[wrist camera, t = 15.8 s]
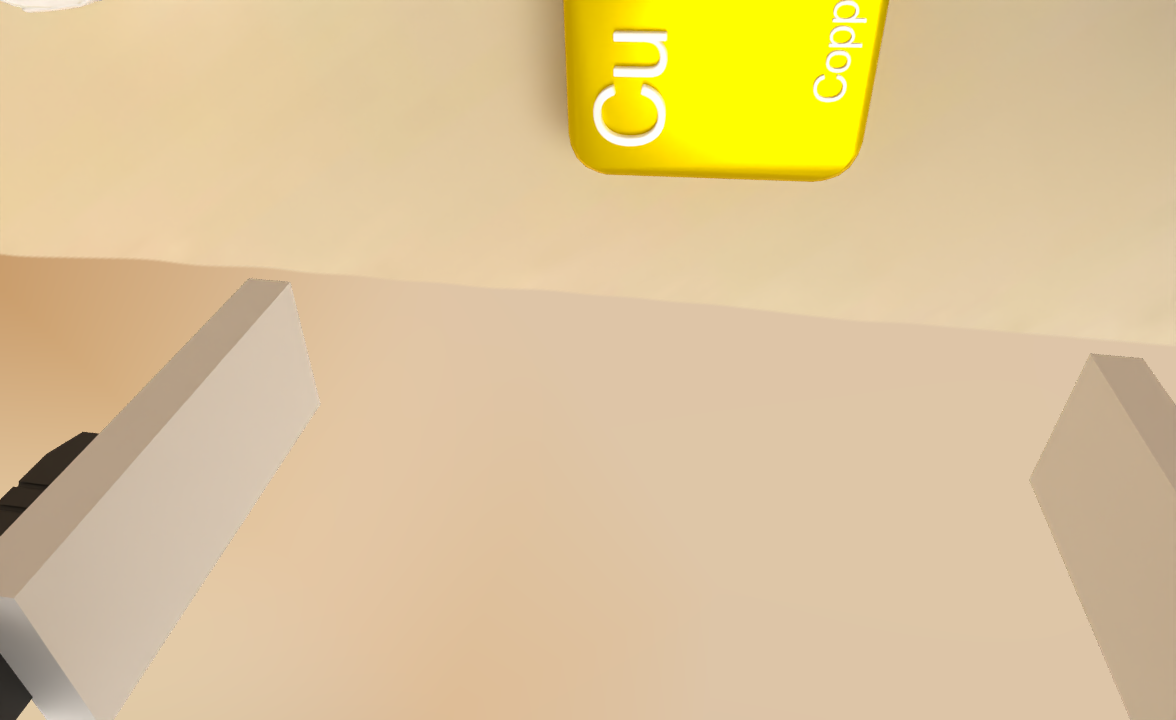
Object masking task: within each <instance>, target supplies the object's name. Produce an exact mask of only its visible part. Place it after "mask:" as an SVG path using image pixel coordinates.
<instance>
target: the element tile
mask: <svg viewBox="0 0 1176 720" xmlns="http://www.w3.org/2000/svg"><path fill="white" fill-rule="evenodd" d="M888 5H889V0H563V6H564V31H565V55H566V80H567V105H568V130H569V137H570V143H571V146H572V148H573V151H574V153H575V155H576V157H577V158H578V159H579V160H580V161H581V162H582V163H583V164H584V165H585V166H586V167H588V168H590V169H592V170H594V171H597V172H599V173H603V174H609V175H637V176H666V177H694V178H722V179H751V180H779V181H808V182H814V181H823V180H827V179H830V178H833V177H836V176H839V175H840V174H841V173H843V172H844V171H845V170H847V169H848V168H849V167H850V166H851V165H852V163H853V162H854V160H855V159H856V157H857V156H858V154H859V151H860V148H861V145H862V142H863V138H864V133H865V128H866V122H867V117H868V112H869V106H870V101H871V96H872V90H873V85H874V80H875V74H876V69H877V63H878V58H879V53H880V47H881V42H882V37H883V31H884V26H885V21H886V15H887V10H888Z"/></svg>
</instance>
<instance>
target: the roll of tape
mask: <svg viewBox="0 0 1176 720" xmlns="http://www.w3.org/2000/svg"><path fill="white" fill-rule="evenodd" d="M1 1H2V2H5V3H7V4H10V5H13V6H16V7H21V8H22V10H23V11H25V12H46V11H56V10H64V9H71V8H78V7H82V6H85V5H88V4H91V3H93V2H96V1H102V0H1Z"/></svg>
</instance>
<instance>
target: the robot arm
mask: <svg viewBox="0 0 1176 720" xmlns="http://www.w3.org/2000/svg"><path fill="white" fill-rule="evenodd" d="M319 406H320V400H319V396H318V392H317V388H316V384H315V380H314V376H313V372H312V368H311V364H310V360H309V356H308V352H307V348H306V344H305V339H304V335H303V332H302V327H301V323H300V319H299V315H298V311H297V307H296V303H295V299H294V296H293V291H292V287H291V283H290V282H283V281H273V280H262V279H250V278H249V279H248V280H247V281H246V282H245V283H244V284H243V285H242V286H241V287H240V288H239V289H238V290H237V291H236V292H235V293H234V294H233V295H232V296H231V298H230V299H228V301H227V302H226V303H225V304H224V305H223V306H222V307H221V308H220V309H219V310H218V311H217V312H216V313H215V314H214V315H213V316H212V317H211V318H210V319H209V320H208V321H207V322H206V323H205V325H203V326H202V328H200V330H199V331H198V332H197V333H196V334H195V335H194V336H193V337H192V338H191V339H190V340H189V341H188V342H187V343H186V344H185V345H184V346H183V347H182V348H181V349H180V350H179V351H178V353H176V354H175V356H174V357H173V358H172V359H171V360H170V361H169V362H168V363H167V364H166V365H165V366H164V367H163V368H162V369H161V370H160V371H159V372H158V373H157V374H156V376H154V377H153V379H151V381H150V382H149V383H148V384H147V385H146V386H145V387H144V388H143V389H142V390H141V391H140V392H139V393H138V394H137V395H136V396H135V397H134V398H133V399H132V400H131V401H130V402H129V403H128V404H127V406H126V407H125V408H124V409H123V410H122V411H121V412H120V413H119V414H118V415H117V416H116V417H115V418H114V419H113V420H112V421H111V422H110V423H109V424H108V425H107V426H106V427H105V428H104V429H103V430H102V431H101V432H100V433H99V434H97V433H88V432H82V433H80V434H79V435H77V436H75V437H74V438H72V439H71V440H69V441H67V442H65V443H64V444H62V445H61V446H59V447H57V448H56V449H54V450H52V451H51V452H49V453H47V454H46V455H45V456H44V457H43V458H42V459H41V460H40V461H39V462H38V463H37V464H36V465H35V466H34V467H33V468H32V469H31V470H30V471H29V472H28V473H27V474H26V475H25V476H24V477H23V478H22V479H21V480H20V481H19V485H18V487H13V488H11V489H10V491H8V492H7V494H5V495H4V496H3V497H2V498H1V500H0V720H16V719H17V718H18V716H19V715H20V714H21V712H22V711H23V710H24V708H25V707H26V706H27V704H28V703H29V702H30V700H31V699H32V701H33V702H34V703H35V705H36V706H37V707H38V709H39V710H40V711H41V713H42V714H43V715H44V717H45V718H46V719H47V720H114V718H115V717H116V715H117V714H118V712H119V711H120V709H121V708H122V706H123V705H124V703H125V702H126V700H127V698H128V697H129V695H130V694H131V692H132V691H133V689H134V688H135V686H136V685H137V683H138V682H139V680H140V679H141V677H142V676H143V674H144V672H145V671H146V669H147V668H148V667H149V665H150V663H151V662H152V660H153V659H154V657H155V656H156V654H157V653H158V651H159V650H160V648H161V647H162V645H163V644H164V642H165V640H166V639H167V638H168V636H169V634H170V633H171V631H172V630H173V628H174V627H175V625H176V624H177V622H178V621H179V619H180V618H181V616H182V615H183V613H184V611H185V610H186V609H187V607H188V605H189V604H190V602H191V601H192V599H193V598H194V596H195V595H196V593H197V592H198V590H199V589H200V587H201V585H202V584H203V583H204V581H205V579H206V578H207V576H208V575H209V573H210V572H211V570H212V569H213V567H214V566H215V564H216V563H217V561H218V560H219V558H220V557H221V555H222V554H223V552H224V550H225V549H226V547H227V546H228V544H229V543H230V541H231V540H232V538H233V537H234V535H235V534H236V532H237V531H238V529H239V528H240V526H241V525H242V523H243V522H244V520H245V518H246V517H247V516H248V514H249V512H250V511H251V509H252V508H253V506H254V505H255V503H256V502H257V500H258V499H259V497H260V496H261V494H262V493H263V491H264V490H265V488H266V486H267V485H268V483H269V482H270V480H271V479H272V477H273V476H274V474H275V473H276V471H277V470H278V468H279V467H280V465H281V463H282V462H283V461H284V459H285V458H286V456H287V454H288V453H289V451H290V450H291V448H292V447H293V445H294V444H295V442H296V441H297V439H298V438H299V436H300V435H301V433H302V432H303V430H304V429H305V427H306V425H307V424H308V422H309V421H310V419H311V418H312V416H313V415H314V413H315V412H316V410H317V409H318V407H319ZM1029 481H1030V483H1031V486H1032V488H1033V490H1034V493H1035V495H1036V497H1037V500H1038V502H1039V504H1040V507H1041V509H1042V512H1043V514H1044V516H1045V519H1046V521H1047V523H1048V526H1049V528H1050V530H1051V533H1052V535H1053V538H1054V540H1055V542H1056V545H1057V547H1058V550H1059V552H1060V554H1061V557H1062V559H1063V561H1064V564H1065V566H1066V568H1067V571H1068V573H1069V576H1070V578H1071V580H1072V583H1073V585H1074V587H1075V590H1076V592H1077V595H1078V597H1079V599H1080V602H1081V604H1082V606H1083V609H1084V611H1085V614H1086V616H1087V618H1088V621H1089V623H1090V625H1091V627H1092V630H1093V632H1094V635H1095V637H1096V640H1097V642H1098V644H1099V647H1100V649H1101V651H1102V654H1103V656H1104V659H1105V661H1106V663H1107V666H1108V668H1109V670H1110V673H1111V675H1112V677H1113V680H1114V682H1115V684H1116V687H1117V689H1118V692H1119V694H1120V696H1121V699H1122V701H1123V703H1124V706H1125V708H1126V710H1127V713H1128V715H1129V718H1130V720H1176V405H1175V404H1174V402H1173V401H1172V399H1171V398H1170V397H1169V395H1168V394H1167V392H1166V391H1165V389H1164V388H1163V387H1162V385H1161V384H1160V382H1159V381H1158V379H1157V378H1156V377H1155V375H1154V374H1153V372H1152V371H1151V370H1150V368H1149V367H1148V365H1147V364H1146V362H1145V361H1144V360H1143V358H1133V357H1122V356H1111V355H1099V354H1090V355H1089V357H1088V359H1087V361H1086V363H1085V365H1084V367H1083V370H1082V372H1081V374H1080V376H1079V378H1078V380H1077V382H1076V384H1075V386H1074V388H1073V390H1072V392H1071V394H1070V397H1069V399H1068V401H1067V403H1066V405H1065V407H1064V409H1063V411H1062V413H1061V415H1060V417H1059V419H1058V421H1057V423H1056V425H1055V427H1054V430H1053V432H1052V434H1051V436H1050V438H1049V440H1048V442H1047V444H1046V446H1045V448H1044V451H1043V452H1042V454H1041V456H1040V459H1039V461H1038V463H1037V465H1036V467H1035V469H1034V471H1033V473H1032V475H1031V477H1030V479H1029Z"/></svg>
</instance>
